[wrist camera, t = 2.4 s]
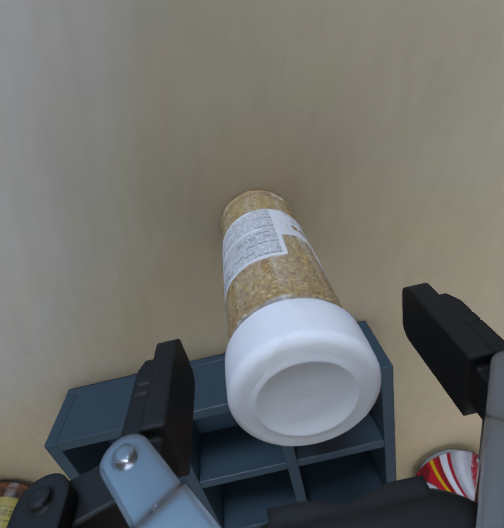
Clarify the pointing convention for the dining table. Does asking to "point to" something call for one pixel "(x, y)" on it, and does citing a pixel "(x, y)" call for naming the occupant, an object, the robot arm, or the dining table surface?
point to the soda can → (451, 472)
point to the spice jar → (288, 332)
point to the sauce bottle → (9, 499)
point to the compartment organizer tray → (238, 447)
